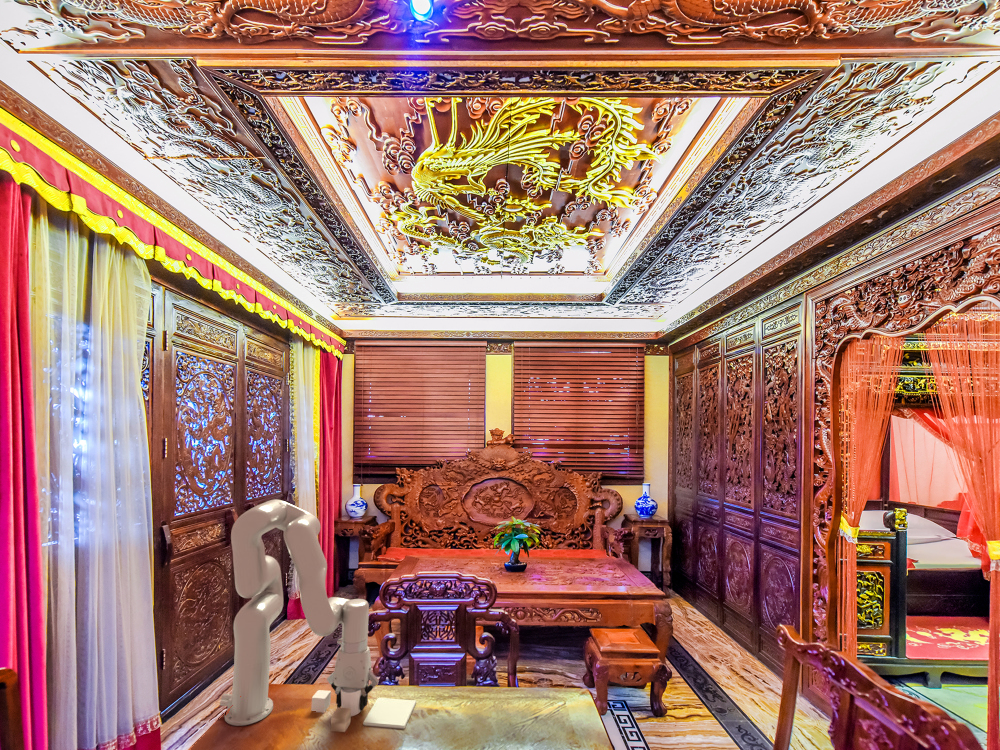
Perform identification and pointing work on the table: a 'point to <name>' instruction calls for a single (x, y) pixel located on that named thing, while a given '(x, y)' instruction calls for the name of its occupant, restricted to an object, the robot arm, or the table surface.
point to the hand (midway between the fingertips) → (351, 706)
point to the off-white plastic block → (321, 701)
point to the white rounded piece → (351, 699)
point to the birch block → (340, 719)
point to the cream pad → (390, 713)
